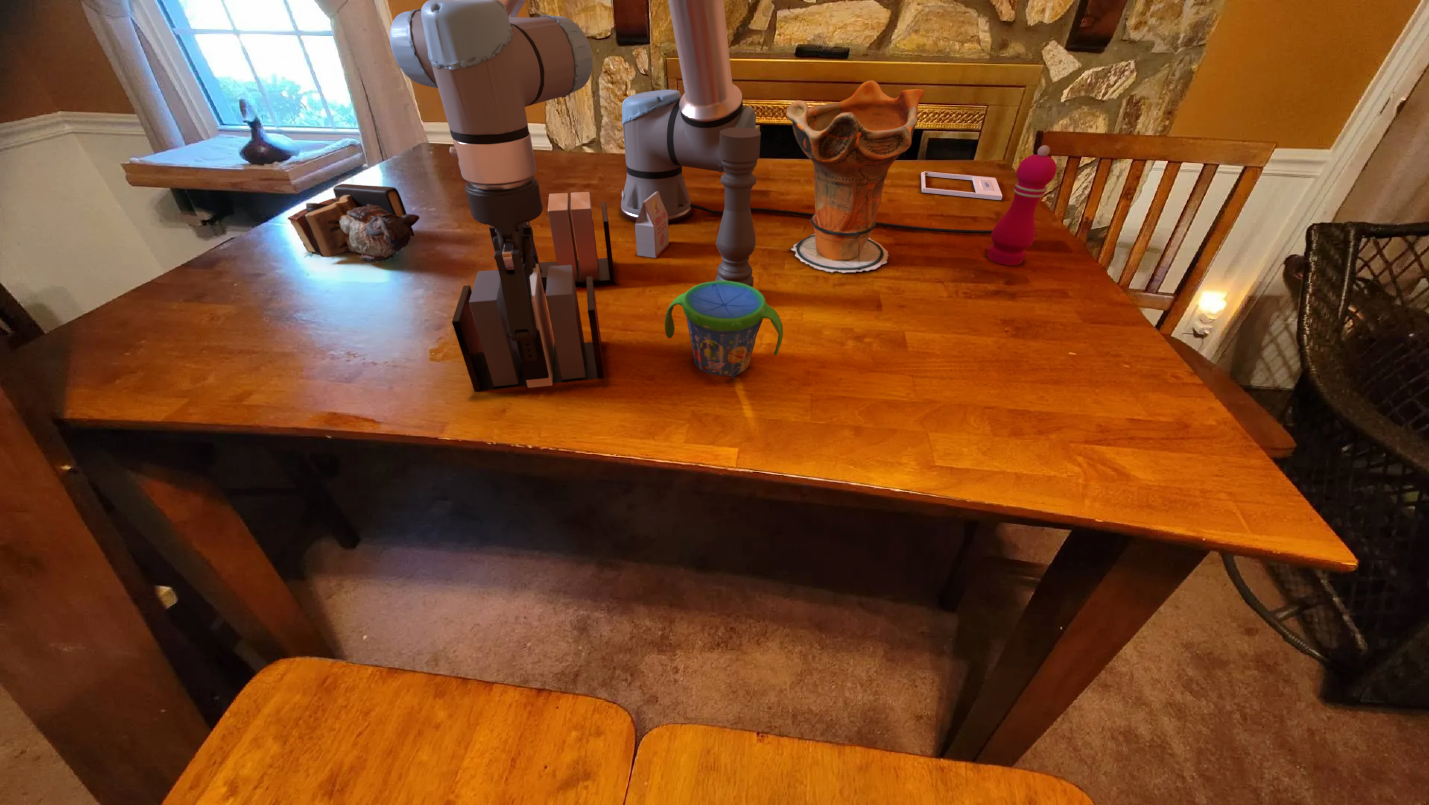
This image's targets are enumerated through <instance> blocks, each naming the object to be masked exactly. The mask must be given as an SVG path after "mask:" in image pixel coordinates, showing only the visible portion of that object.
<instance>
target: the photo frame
mask: <svg viewBox="0 0 1429 805" xmlns="http://www.w3.org/2000/svg"><path fill="white" fill-rule="evenodd" d="M923 171H924V170H923ZM926 177H934V178H943V179H944V178H945V179H953V180H954V179H956V180H963V181H964V180H965V181H972V184H973V188H974V191H975V192H972V191H963V190H962V191H961V190H953V189H943V188H932V187H926ZM920 182H921V183H920V184H921V193H923V194H925V193H926V194H938V195H944V196H945V195H946V196H956V197H966V198H974V199H975V198H976V199H986V200H996V201H1002V200H1003V194H1002V192H1001V188H1000V186H999V183H998V181H997V178H996V177H990V176H979V175H970V174H957V173H947V172H946V173H945V172H935V171H924V172H922V171H921V173H920Z"/></svg>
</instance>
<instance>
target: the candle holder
mask: <svg viewBox="0 0 1429 805" xmlns="http://www.w3.org/2000/svg"><path fill="white" fill-rule="evenodd" d="M761 135H762V132H761V130H757V129H756V128H755V129H751V128H739V127H737V128H727V129H723V130H721V131H720V141H719V157H720V158H721V164H722V165H723V167H724V170H725V172H724V173H722V175H721V176H720V184H722V186H723V188H724V208H723V211H724V212H723V215H722V216H721V220H720V224H719V228H718V233H717V237H716V242H715V246H716V249H717V250H718V253H719V254H720V257H721V260H722V261H721V262H720V264H719V265H718V266H717V269H716V270H717V271H716V272H717V274H716V276H715V281H733V282H738V283H743V284H746V285H749V286H751V287H753V288H754V278H755V277H754V276H753V270H754V269H753V267H752V266H751V264H750V263H749V261H750V257H751V255H752V254H753V252H754V251H755V248H756V245H757V244H756V243H757V242H756V241H757V238H756V233H755V227H754V222H753V217H752V211H751V209H750V208H751V203H752V202H751V201H752V200H751V199H752V189H753V187H754V186H756V183H757V177H756V176H755V175H754V174H753V172H754V170H755V168H756V166H757V165H758V160H759V159H760V154H761V153H760V152H761Z"/></svg>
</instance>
